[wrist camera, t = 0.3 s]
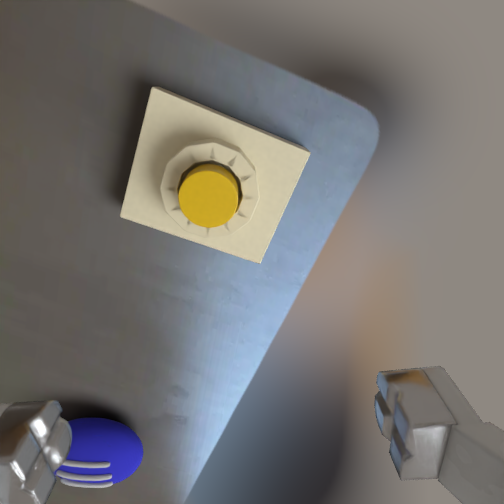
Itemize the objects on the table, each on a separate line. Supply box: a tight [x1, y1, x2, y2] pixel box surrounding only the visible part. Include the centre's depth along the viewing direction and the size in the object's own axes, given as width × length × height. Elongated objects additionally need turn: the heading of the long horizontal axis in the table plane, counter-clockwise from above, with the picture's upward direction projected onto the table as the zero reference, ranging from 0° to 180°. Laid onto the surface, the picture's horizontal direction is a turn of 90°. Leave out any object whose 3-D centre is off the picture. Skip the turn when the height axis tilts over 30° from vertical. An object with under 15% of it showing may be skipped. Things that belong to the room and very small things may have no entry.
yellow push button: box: [178, 164, 238, 228], centre depth 24 cm, size 4×4×2 cm
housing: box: [120, 87, 310, 264], centre depth 27 cm, size 12×10×4 cm
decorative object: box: [55, 418, 143, 488], centre depth 39 cm, size 10×6×10 cm
